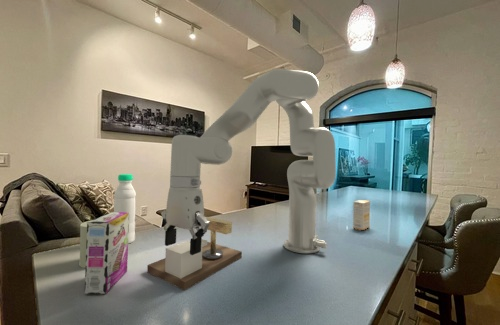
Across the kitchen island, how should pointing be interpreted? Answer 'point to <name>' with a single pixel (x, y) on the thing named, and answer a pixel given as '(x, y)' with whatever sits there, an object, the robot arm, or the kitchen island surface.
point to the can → (83, 244)
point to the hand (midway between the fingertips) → (182, 248)
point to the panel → (207, 270)
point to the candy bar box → (106, 252)
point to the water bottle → (126, 202)
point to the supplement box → (361, 214)
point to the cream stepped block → (183, 259)
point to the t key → (215, 226)
